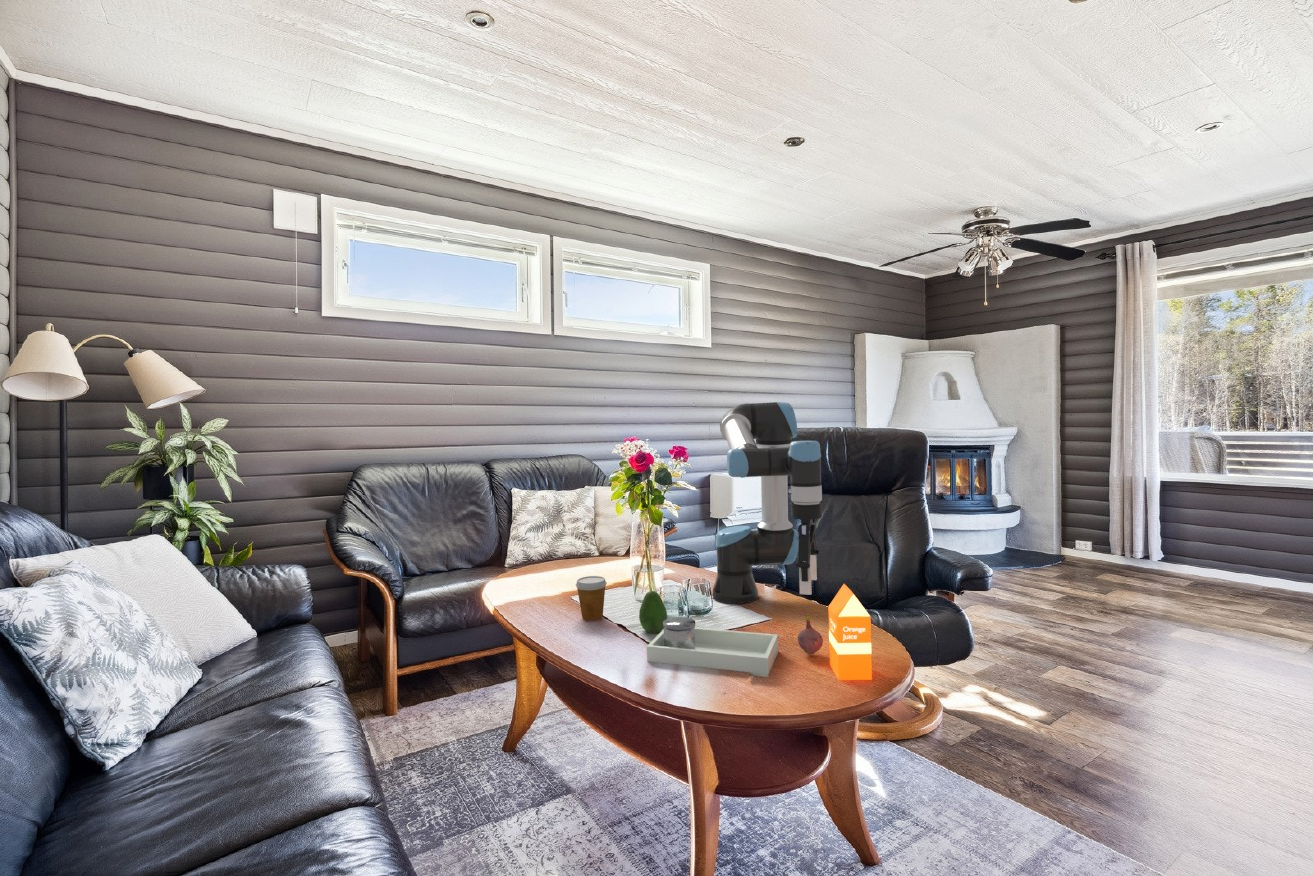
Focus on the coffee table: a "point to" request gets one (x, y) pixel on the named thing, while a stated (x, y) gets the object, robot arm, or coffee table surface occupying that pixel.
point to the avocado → (652, 613)
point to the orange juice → (849, 637)
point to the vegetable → (810, 639)
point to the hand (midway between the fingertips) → (808, 586)
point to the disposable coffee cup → (591, 597)
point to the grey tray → (721, 651)
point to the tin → (679, 632)
